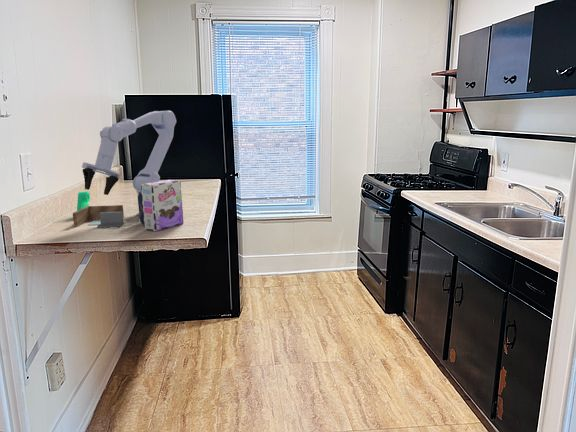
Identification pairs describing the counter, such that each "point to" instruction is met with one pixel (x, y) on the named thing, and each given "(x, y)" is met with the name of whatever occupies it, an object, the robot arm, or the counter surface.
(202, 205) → the counter surface
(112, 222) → the bracket
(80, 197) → the camera mount
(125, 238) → the counter surface
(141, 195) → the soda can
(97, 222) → the pad
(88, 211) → the corner walls
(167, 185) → the candy box
